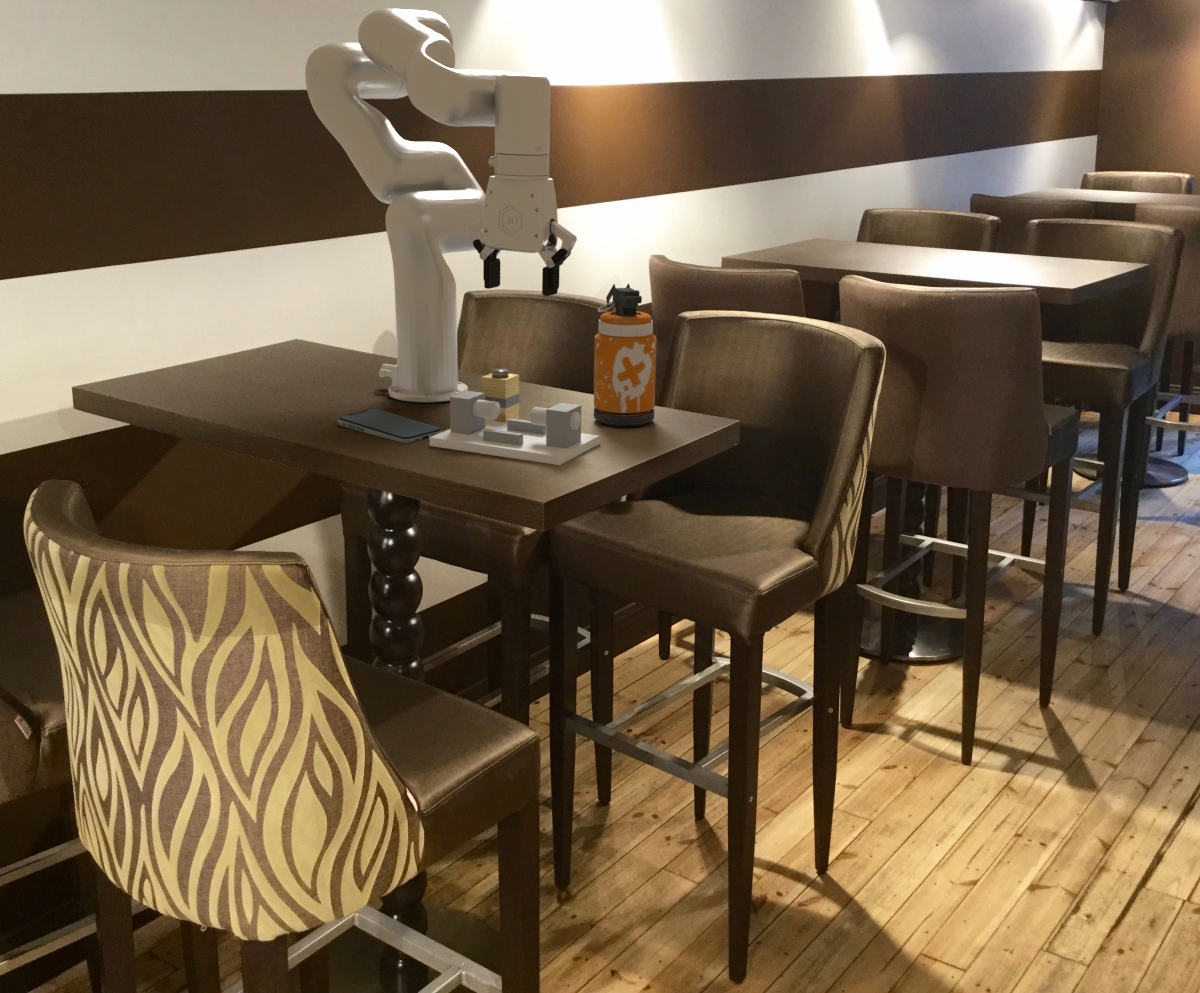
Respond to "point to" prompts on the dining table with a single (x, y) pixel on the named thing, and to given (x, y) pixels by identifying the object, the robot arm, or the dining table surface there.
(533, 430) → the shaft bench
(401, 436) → the smartphone
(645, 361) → the canister
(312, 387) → the dining table surface
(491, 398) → the block
